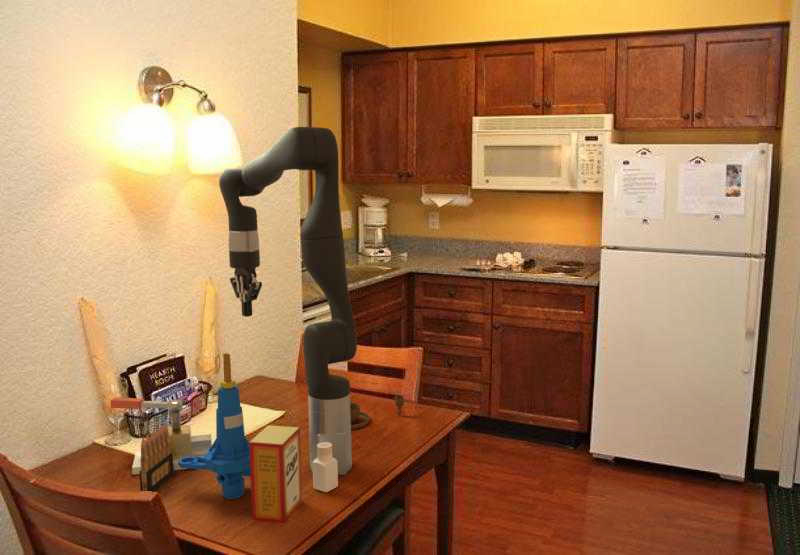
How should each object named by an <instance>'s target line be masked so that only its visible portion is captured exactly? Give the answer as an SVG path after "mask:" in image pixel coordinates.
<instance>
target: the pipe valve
mask: <svg viewBox="0 0 800 555" xmlns="http://www.w3.org/2000/svg"><path fill="white" fill-rule="evenodd" d="M170 421H171V425H170V426H167V427H168V432H169V439H170V445H171V452H172V453H173V461H174V460H179V459H181V458H183V457H189V456H193V457H196V456H204V455H205V454H207V452H208V451H209V450H210V448H211V446H212V445H213V443H212V434H211V433H210V434H200V435H199V434H198V435H192V427H191V424H184V425H182V422H181V421H182V420H181V410H178V411H170ZM145 442H146V440H145Z"/></svg>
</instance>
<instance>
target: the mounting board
mask: <svg viewBox="0 0 800 555" xmlns="http://www.w3.org/2000/svg"><path fill="white" fill-rule="evenodd" d="M134 454H135V455H134V459H133V463H132V467H131V473H132V475H140V470H141V460H140V458H141V451H136V452H135V453H134ZM196 457H204V456H196ZM178 461H179V460H174V461H173V466H174V471H178V470H179V471H181V470H189V468H180V467H179V466H178ZM186 463H188V462H186Z"/></svg>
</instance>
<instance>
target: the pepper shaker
mask: <svg viewBox="0 0 800 555" xmlns="http://www.w3.org/2000/svg"><path fill="white" fill-rule="evenodd" d="M317 456H318V458H316V459H315V460H314V461H313V472H312V487H313V489H315V490H318V491H319V492H320V491H321V492H323V493H328V492H330V491H332V490H334V489H335V488H338V486H339V478H338V477H339V475H338V467H337V460H336V459H335V458H333V457H332V444H331V443H328V442H322V443H319V444H317Z"/></svg>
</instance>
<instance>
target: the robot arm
mask: <svg viewBox="0 0 800 555" xmlns="http://www.w3.org/2000/svg"><path fill="white" fill-rule="evenodd" d="M290 170H298V171H314V177H315V187H314V188H315V189H314V195H313V200H312V203H311V204H310V206H309V209H308V211H307V213H306V215H305V217H304V220H303V223H302V225H301V229H300V236H299V237H300V247H301V256H302V261H303V265H304V267H305V269H306V270H307V272H308V274H309V275H310V276H311V278H312V279H313V281H314V282H315V284H317V286H318V287H319V288H320V290H321V291H322V293H323V294H324V297H325V298H326V301H327V303H328V306H329V311H330V316H331V320H329V321H320V322H316V323H311V324H308V325H307V326H306V327H305V329H304V332H303V337H302V348H303V359H304V370H305V372H304V373H305V380H306V381H305V382H306V385H307V386H306V387H307V397H308V398H307V400H308V401H307V402H308V405H307V406H308V438H309V441H308V442H309V464H310V467H309V468H310V470H311V472H312V473H313V461H314V460H315V459H316V458H318V456H317V444H319V443H322V442H328V443H331V444H332V457H333V458H335V459H336V460H337V467H338V476H343V475H344V476H345V475H347V474H348V472H349V471H351V469H352V467H353V465H352V464H353V461H352V460H353V458H352V434H351V431H352V430H351V425H352V424H351V413H350V402H351V384H350V380H349V379H348V378H346V377H344V376H341V375H338V374H332V373H330V371H329V365H332V364H337V363H341V362H342V363H343V362H347V361H351V360H353V358H355V356H356V353H357V350H358V339H357V338H358V336H357V330H356V324H355V319H354V314H353V308H352V304H351V299H350V293H349V292H350V291H349V286H348V285H349V284H348V275H347V267H346V266H347V265H346V264H347V263H346V253H345V250H346V249H345V242H344V232H343V226H342V225H343V224H342V216H341V205H340V194H339V193H340V190H339V189H340V188H339V187H340V186H339V181H340V180H339V179H340V176H339V170H340V168H339V146H338V142H337V138H336V136H335V134H334V132H333V131H332V130H331V129H330V128H327V127H320V126H318V127H317V126H316V127H315V126H314V127H313V126H296V127H292V128H290V129H289V130H287V131H286V132H285V133H284V134H282V135H281V137H280V138H278V140H277V141H276V142H274V144H272V146H271V147H270V148H269V149H267V151H265V152H264V153H262V154H261V155H259V156H257V157H255V158H254V159H251V160H250V161H248V162H247V163H246V164H245V165H244V166H243V168H242V167H240V168H239V167H234V168H233V167H232V168H231V167H230V168H225V169H223V171H222V172H221V173H220V176H219V179H218V182H219V184H218V185H219V189H220V193H221V195H222V198H223V202H224V205H225V208H226V212H227V216H228V255H229V256H228V257H229V258H228V259H229V260H228V261H229V267H230V268H232V269H234V271H233V272H234V275H233V276H234V277H230V278H229V282H230V284H231V287H232V289H233V292H234V294H235V297H236V299H239V301H240V302H241V304H240V305H241V316H243V317H252V316H253V303H252V302H253V301H257V299H258V297H259V294H260V291H261V289H262V286H263V283H262V281H258V279H257V270H256V268H258V267H260V266H261V256H260V255H261V254H260V238H259V232H258V213H257V209H256V208H255V207H253V206H251V205H250V206H248V205H244V204H242V202H241V200H240V198H241V197H242V198H243V197H244V198H245V197H255V196H258V195H261V193H262V192H263V191H264V190H265V188H267V187H269V186H271V185H273V184H275V183H277V181H279V180H280V178H282V176H283V174H284V172H285V171H290Z"/></svg>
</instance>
